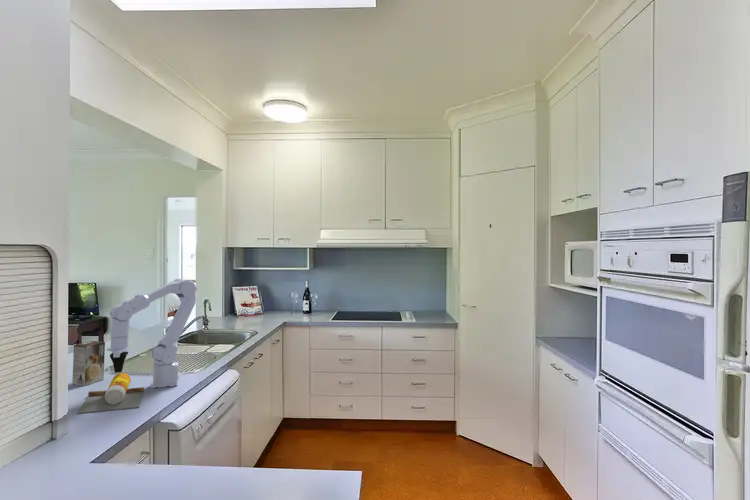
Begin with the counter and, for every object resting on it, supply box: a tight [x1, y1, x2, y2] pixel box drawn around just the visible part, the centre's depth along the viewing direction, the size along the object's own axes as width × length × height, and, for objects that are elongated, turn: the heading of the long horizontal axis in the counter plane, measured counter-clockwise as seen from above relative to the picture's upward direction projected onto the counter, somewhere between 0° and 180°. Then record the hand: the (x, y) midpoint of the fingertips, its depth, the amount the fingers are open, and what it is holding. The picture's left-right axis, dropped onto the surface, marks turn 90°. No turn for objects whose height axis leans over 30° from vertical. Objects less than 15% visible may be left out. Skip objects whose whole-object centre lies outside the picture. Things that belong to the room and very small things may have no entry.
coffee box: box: [71, 340, 106, 387], centre depth 170 cm, size 9×6×16 cm
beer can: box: [105, 372, 132, 404], centre depth 153 cm, size 6×6×15 cm
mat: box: [76, 391, 145, 415], centre depth 149 cm, size 18×17×1 cm
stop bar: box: [87, 386, 145, 397], centre depth 157 cm, size 18×1×2 cm, turn 114°
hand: (118, 372), depth 158 cm, fingers closed
